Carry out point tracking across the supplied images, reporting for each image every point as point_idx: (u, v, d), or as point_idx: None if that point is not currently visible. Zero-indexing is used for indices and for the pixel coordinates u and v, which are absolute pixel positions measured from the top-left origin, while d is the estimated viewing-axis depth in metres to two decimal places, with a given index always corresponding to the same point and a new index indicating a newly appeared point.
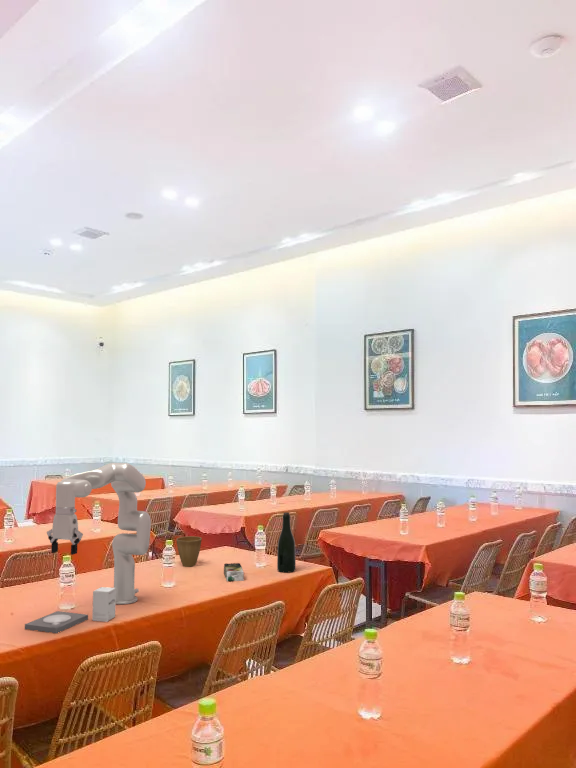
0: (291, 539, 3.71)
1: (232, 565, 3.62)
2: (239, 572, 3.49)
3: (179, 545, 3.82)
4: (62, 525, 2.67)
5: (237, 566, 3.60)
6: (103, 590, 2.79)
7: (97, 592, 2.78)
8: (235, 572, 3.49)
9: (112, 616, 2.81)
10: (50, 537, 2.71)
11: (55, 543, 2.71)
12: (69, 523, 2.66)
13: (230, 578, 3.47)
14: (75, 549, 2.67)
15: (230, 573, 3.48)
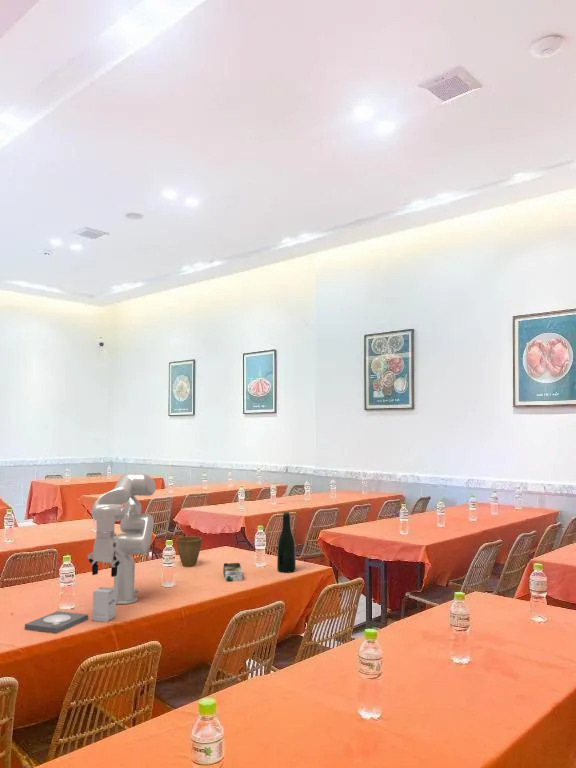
0: (291, 539, 3.71)
1: (232, 565, 3.63)
2: (238, 572, 3.49)
3: (179, 545, 3.82)
4: (103, 548, 2.80)
5: (236, 566, 3.61)
6: (103, 590, 2.79)
7: (97, 592, 2.78)
8: (234, 572, 3.49)
9: (112, 616, 2.81)
10: (91, 560, 2.83)
11: (95, 565, 2.83)
12: (109, 546, 2.79)
13: (229, 578, 3.47)
14: (115, 571, 2.80)
15: (228, 573, 3.49)
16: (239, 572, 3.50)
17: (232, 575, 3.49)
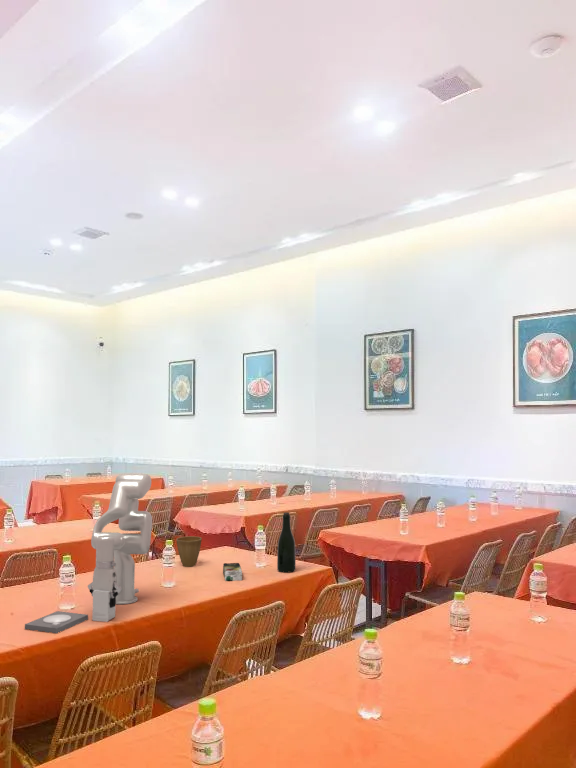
0: (291, 539, 3.71)
1: (231, 565, 3.63)
2: (237, 572, 3.50)
3: (179, 545, 3.82)
4: (102, 578, 2.79)
5: (236, 566, 3.61)
6: None
7: (97, 592, 2.78)
8: (233, 572, 3.50)
9: (112, 616, 2.81)
10: (91, 590, 2.83)
11: None
12: (109, 576, 2.79)
13: (228, 578, 3.48)
14: (114, 602, 2.79)
15: (228, 573, 3.49)
16: (239, 572, 3.50)
17: (232, 575, 3.49)
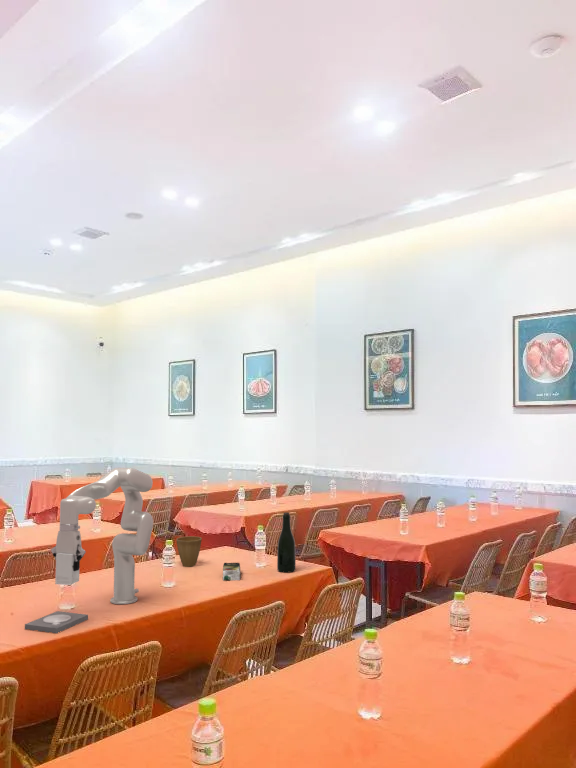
0: (291, 539, 3.71)
1: (231, 565, 3.64)
2: (235, 571, 3.50)
3: (179, 545, 3.82)
4: (66, 541, 2.74)
5: (235, 565, 3.62)
6: None
7: (60, 555, 2.73)
8: (231, 571, 3.50)
9: (76, 580, 2.76)
10: (55, 554, 2.77)
11: None
12: (73, 539, 2.74)
13: (226, 577, 3.49)
14: (77, 566, 2.74)
15: (226, 572, 3.50)
16: (237, 572, 3.50)
17: (230, 574, 3.50)
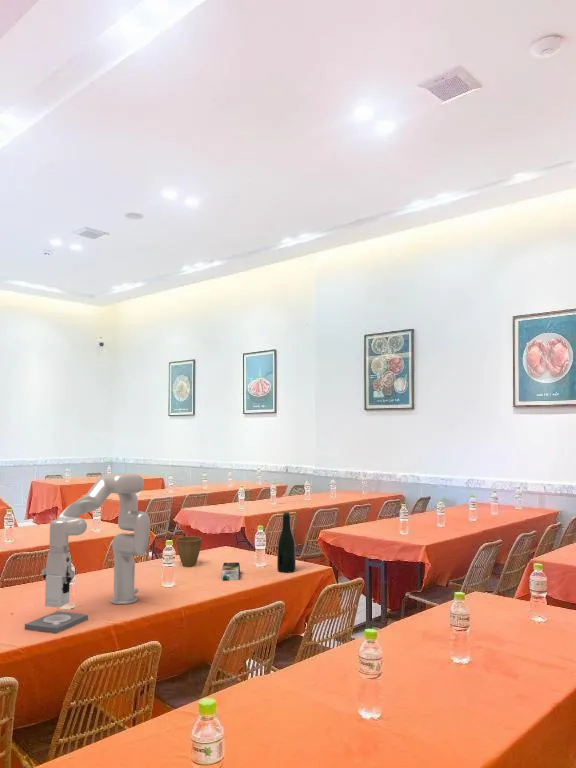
0: (291, 539, 3.71)
1: (230, 564, 3.65)
2: (234, 571, 3.51)
3: (179, 545, 3.82)
4: (55, 563, 2.72)
5: (235, 565, 3.62)
6: None
7: (50, 577, 2.71)
8: (230, 571, 3.51)
9: (66, 602, 2.74)
10: (45, 576, 2.76)
11: None
12: (62, 561, 2.72)
13: (225, 577, 3.49)
14: (67, 588, 2.72)
15: (225, 572, 3.50)
16: (235, 571, 3.51)
17: (228, 574, 3.51)
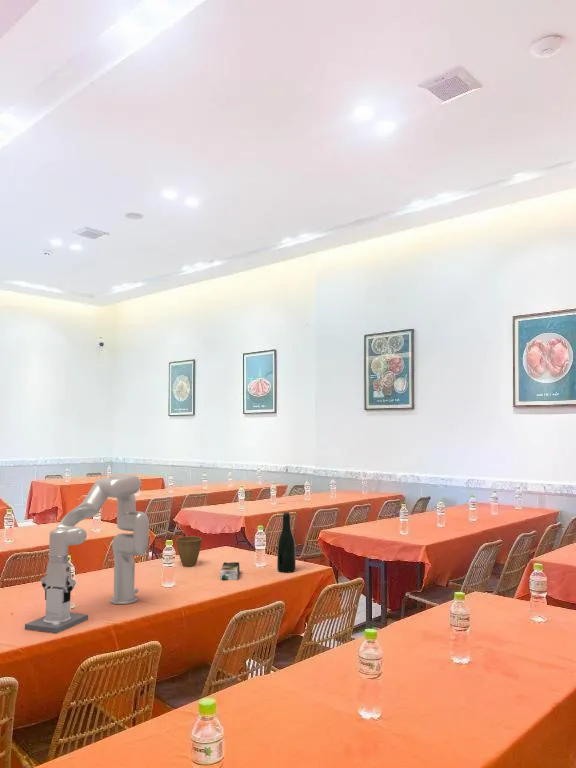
0: (291, 539, 3.71)
1: (230, 564, 3.65)
2: (233, 571, 3.51)
3: (179, 545, 3.82)
4: (55, 573, 2.72)
5: (234, 565, 3.63)
6: (57, 589, 2.72)
7: (50, 591, 2.71)
8: (229, 571, 3.51)
9: (66, 615, 2.74)
10: (44, 584, 2.76)
11: None
12: (62, 571, 2.71)
13: (224, 577, 3.50)
14: (68, 597, 2.72)
15: (224, 572, 3.51)
16: (234, 571, 3.51)
17: (227, 574, 3.51)
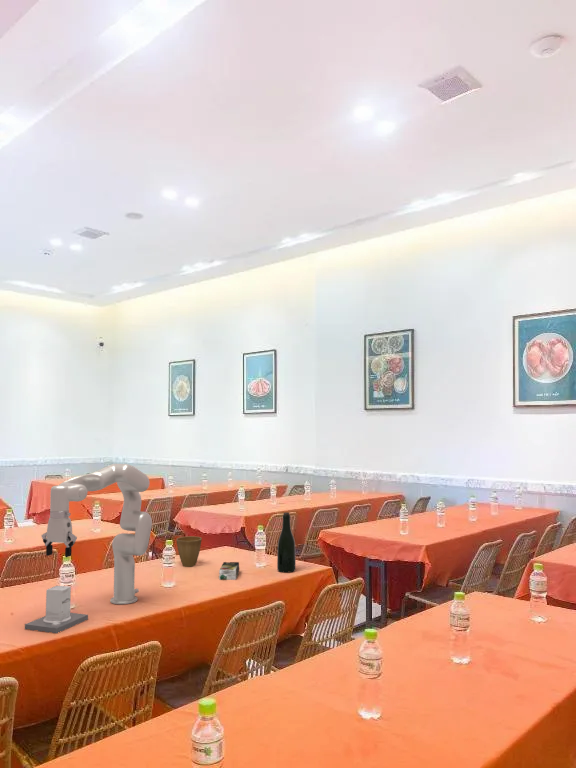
0: (291, 539, 3.71)
1: (230, 564, 3.66)
2: (231, 571, 3.52)
3: (179, 545, 3.82)
4: (56, 528, 2.73)
5: (233, 565, 3.63)
6: (57, 589, 2.72)
7: (50, 591, 2.71)
8: (227, 571, 3.52)
9: (66, 615, 2.74)
10: (45, 540, 2.77)
11: (50, 546, 2.77)
12: (63, 526, 2.73)
13: (222, 576, 3.50)
14: (69, 552, 2.73)
15: (222, 572, 3.52)
16: (233, 571, 3.52)
17: (226, 574, 3.52)
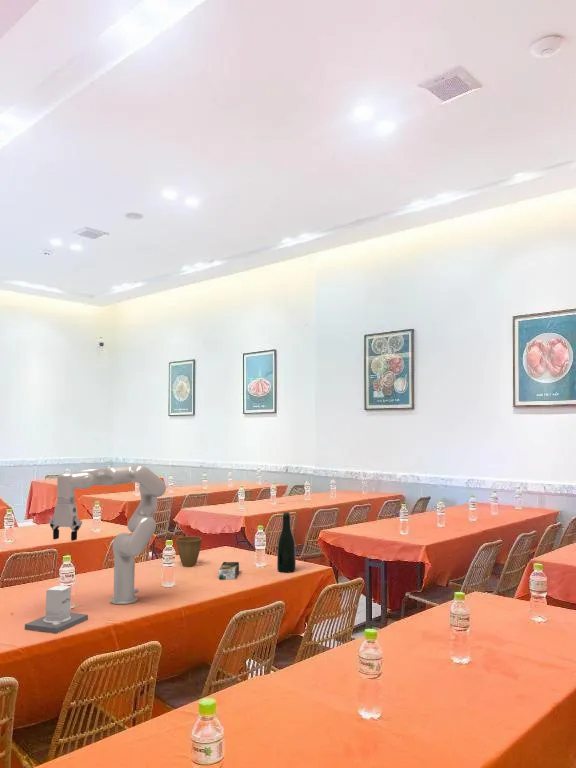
0: (291, 539, 3.71)
1: (229, 564, 3.66)
2: (230, 571, 3.52)
3: (179, 545, 3.82)
4: (63, 513, 2.89)
5: (233, 565, 3.64)
6: (57, 589, 2.72)
7: (50, 591, 2.71)
8: (226, 571, 3.52)
9: (66, 615, 2.74)
10: (52, 525, 2.93)
11: (56, 530, 2.93)
12: (69, 511, 2.89)
13: (221, 576, 3.51)
14: (75, 536, 2.89)
15: (221, 571, 3.52)
16: (232, 571, 3.52)
17: (225, 574, 3.52)
